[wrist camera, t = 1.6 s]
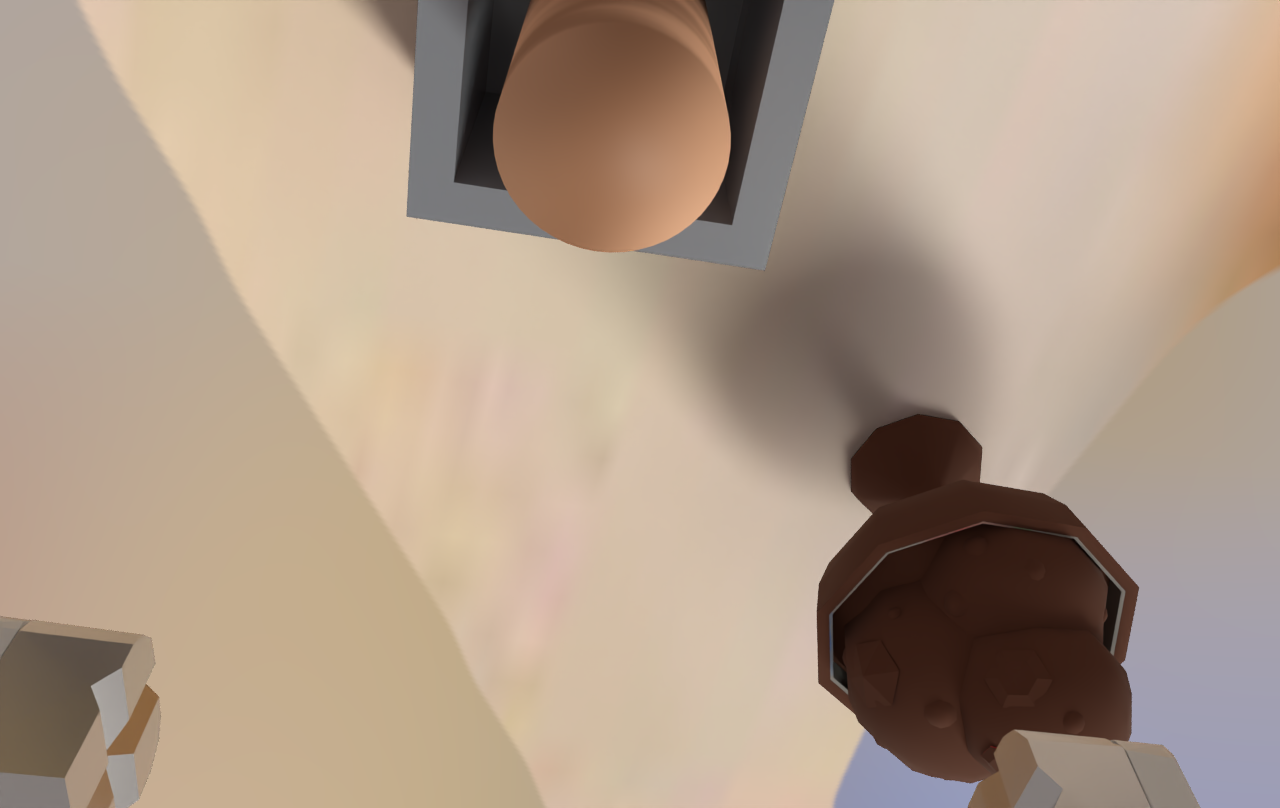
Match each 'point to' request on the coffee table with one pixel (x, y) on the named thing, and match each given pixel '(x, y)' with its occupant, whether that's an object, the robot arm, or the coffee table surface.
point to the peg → (613, 120)
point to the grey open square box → (753, 88)
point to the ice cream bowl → (968, 609)
